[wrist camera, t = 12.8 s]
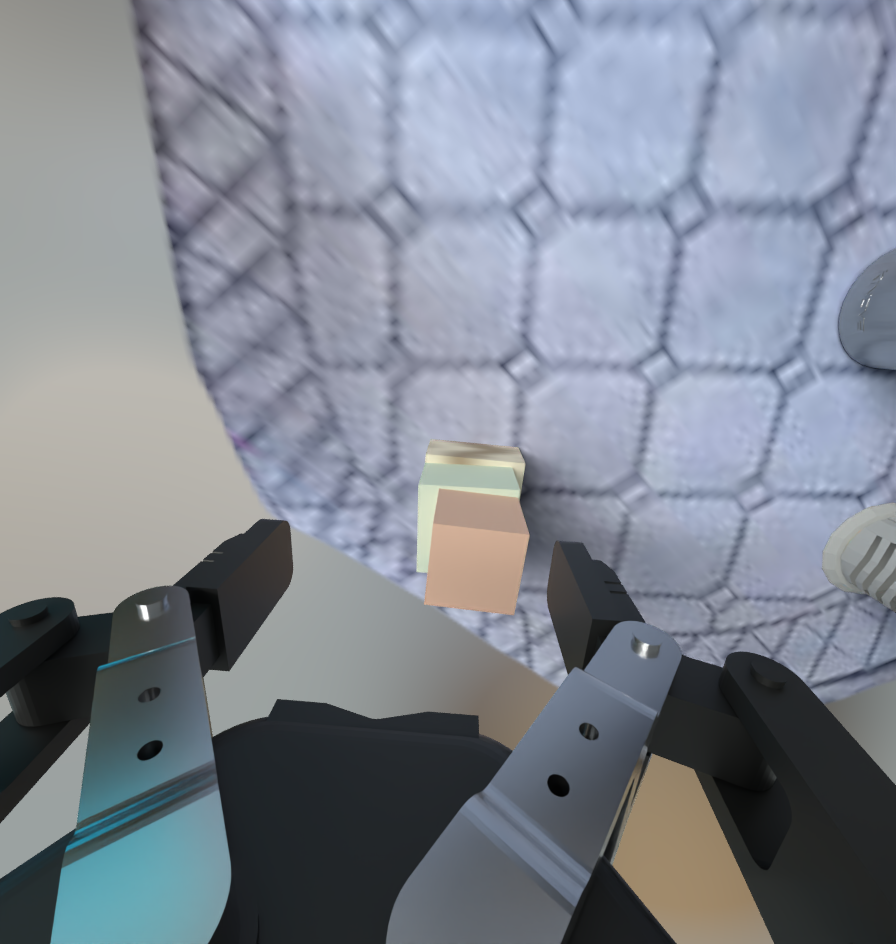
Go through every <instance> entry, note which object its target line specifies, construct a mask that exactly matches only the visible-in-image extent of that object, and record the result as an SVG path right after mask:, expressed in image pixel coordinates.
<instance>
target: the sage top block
mask: <svg viewBox="0 0 896 944" xmlns="http://www.w3.org/2000/svg"><path fill="white" fill-rule="evenodd" d="M439 488H441V489H449V490H458V491H466V492H475V493H483V494H492V495H500V496H508V497H517V498H518V499H519V495H520V488H519V486H518V483H517V480H516V477H515V474H514V471H513V468H512V467H498V466H479V465H460V464H442V463H425V465H424V468H423V472H422V475H421V478H420V481H419V487H418V534H417V572H424V573H428V565H429V556H430V547H431V537H432V528H433V521H434V515H435V509H436V503H437V497H438V491H439Z"/></svg>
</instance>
